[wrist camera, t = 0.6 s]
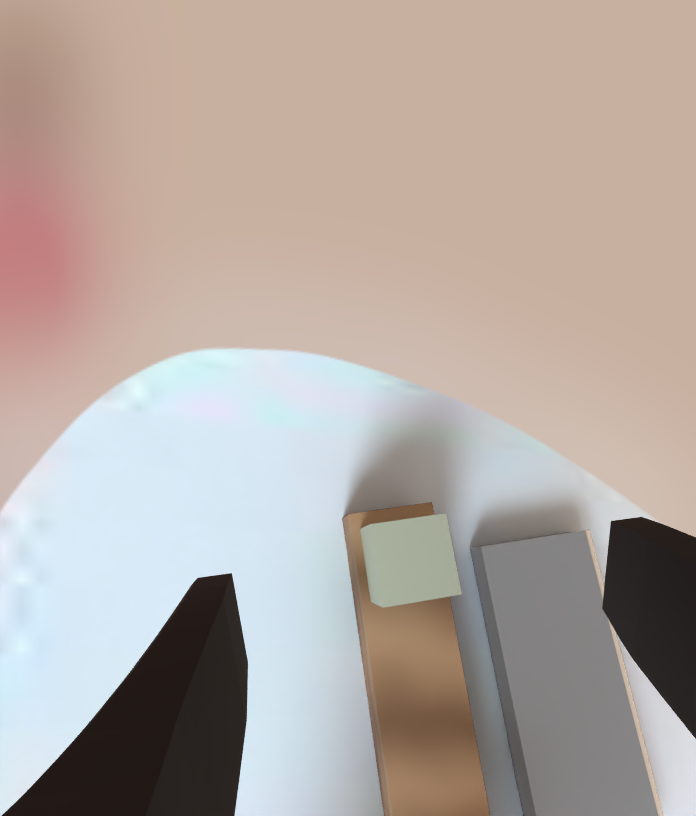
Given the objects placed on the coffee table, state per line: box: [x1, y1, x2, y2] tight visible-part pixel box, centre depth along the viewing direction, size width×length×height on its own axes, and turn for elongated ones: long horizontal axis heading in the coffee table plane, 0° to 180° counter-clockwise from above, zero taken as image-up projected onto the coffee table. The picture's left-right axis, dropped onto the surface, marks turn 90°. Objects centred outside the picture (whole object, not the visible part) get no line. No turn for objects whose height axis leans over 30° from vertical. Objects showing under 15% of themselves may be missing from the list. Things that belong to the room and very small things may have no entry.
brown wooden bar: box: [342, 502, 490, 816], centre depth 30 cm, size 24×5×4 cm, turn 9°
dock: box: [470, 530, 663, 816], centre depth 32 cm, size 18×7×2 cm, turn 9°
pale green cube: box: [360, 513, 462, 608], centre depth 28 cm, size 4×4×4 cm
